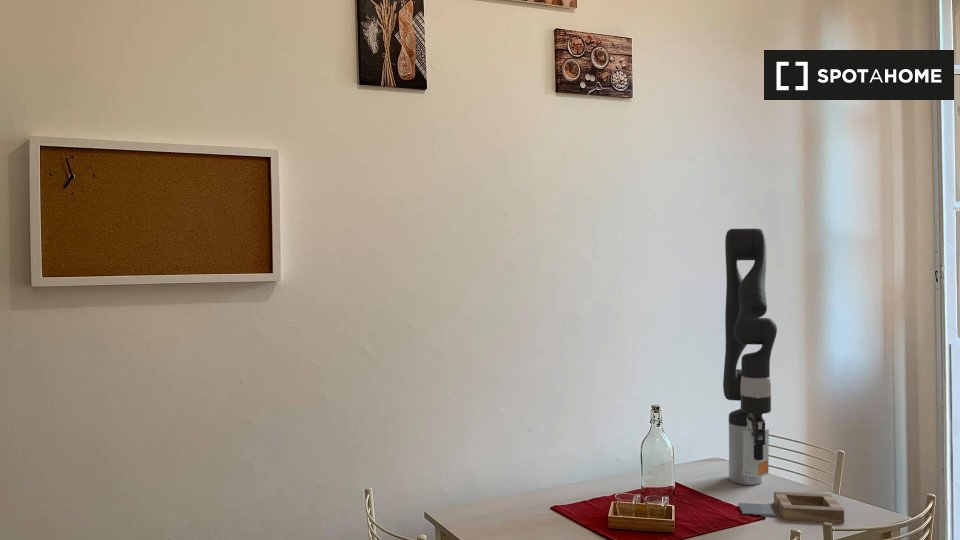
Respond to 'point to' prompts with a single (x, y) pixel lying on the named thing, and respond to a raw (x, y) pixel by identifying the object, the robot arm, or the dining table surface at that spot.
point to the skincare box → (749, 463)
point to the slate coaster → (756, 509)
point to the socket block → (808, 507)
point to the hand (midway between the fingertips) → (756, 455)
